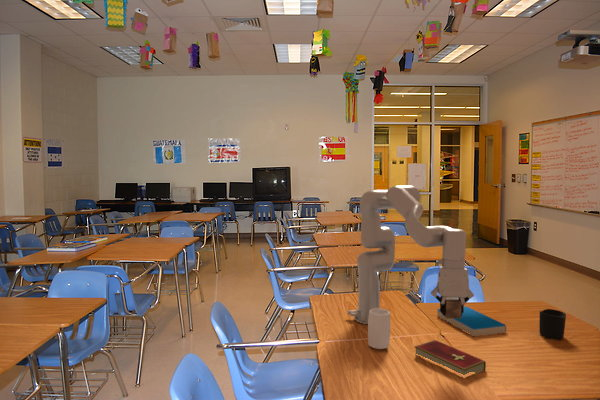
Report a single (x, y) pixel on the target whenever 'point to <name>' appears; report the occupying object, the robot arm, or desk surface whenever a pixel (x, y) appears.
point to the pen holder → (552, 324)
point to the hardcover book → (450, 357)
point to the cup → (379, 328)
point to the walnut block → (453, 307)
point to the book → (475, 323)
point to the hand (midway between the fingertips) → (451, 314)
